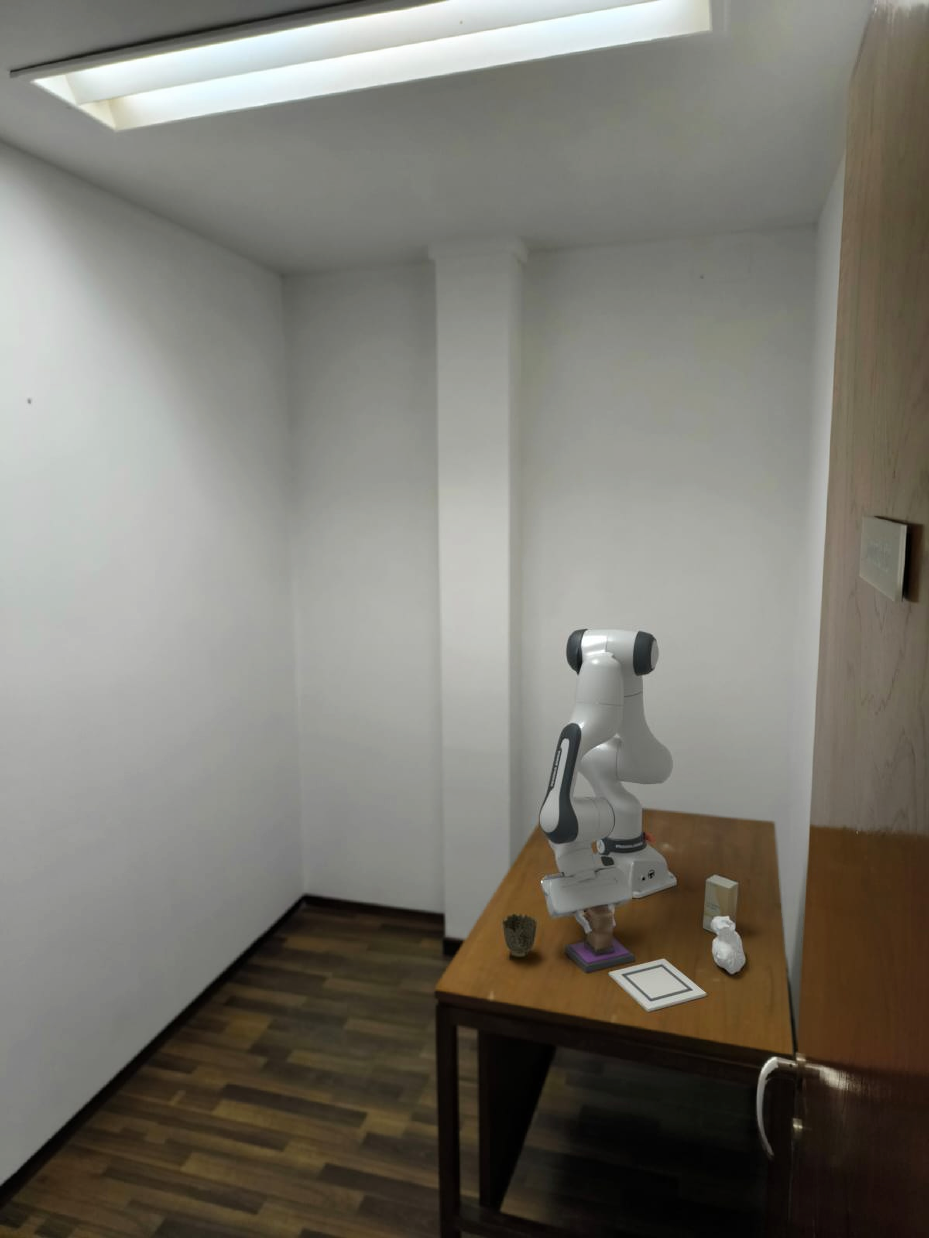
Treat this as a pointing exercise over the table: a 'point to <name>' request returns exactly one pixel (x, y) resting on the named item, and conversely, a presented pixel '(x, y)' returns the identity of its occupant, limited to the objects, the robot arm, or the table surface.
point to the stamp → (600, 931)
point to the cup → (519, 934)
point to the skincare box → (719, 900)
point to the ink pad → (600, 962)
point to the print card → (656, 984)
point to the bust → (727, 945)
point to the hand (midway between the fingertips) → (601, 929)
